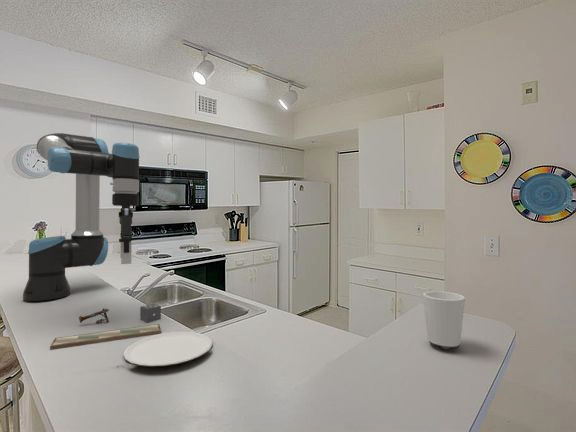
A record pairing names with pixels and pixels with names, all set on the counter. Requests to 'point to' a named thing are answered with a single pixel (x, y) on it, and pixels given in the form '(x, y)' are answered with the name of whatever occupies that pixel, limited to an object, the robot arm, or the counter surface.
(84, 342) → the board
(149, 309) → the die
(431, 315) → the cup
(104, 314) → the lantern lamp post
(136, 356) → the plate
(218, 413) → the counter surface
